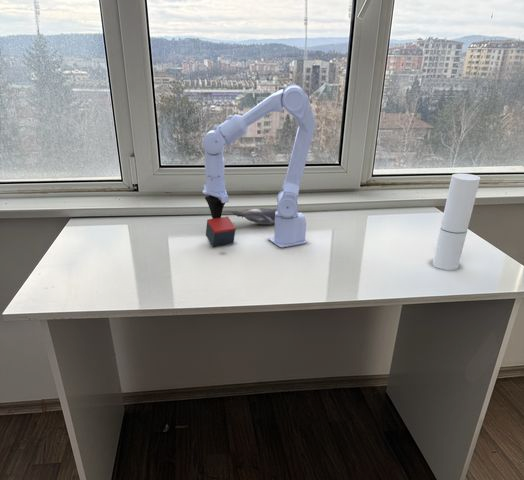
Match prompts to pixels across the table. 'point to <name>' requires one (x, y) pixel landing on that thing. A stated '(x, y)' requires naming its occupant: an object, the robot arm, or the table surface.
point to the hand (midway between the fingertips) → (216, 219)
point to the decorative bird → (256, 215)
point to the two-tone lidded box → (220, 231)
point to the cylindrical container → (455, 220)
